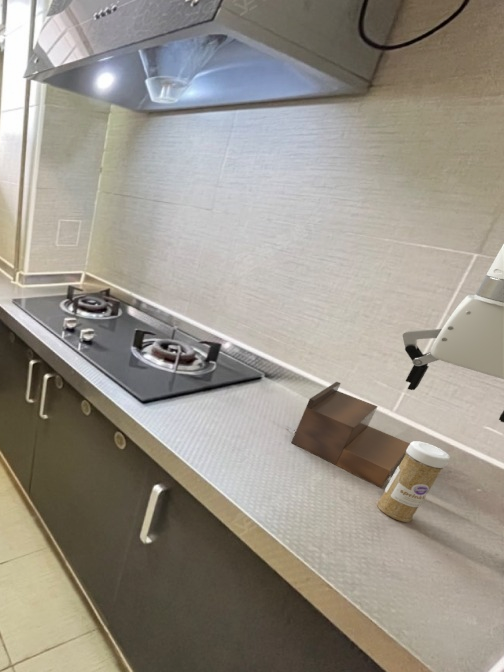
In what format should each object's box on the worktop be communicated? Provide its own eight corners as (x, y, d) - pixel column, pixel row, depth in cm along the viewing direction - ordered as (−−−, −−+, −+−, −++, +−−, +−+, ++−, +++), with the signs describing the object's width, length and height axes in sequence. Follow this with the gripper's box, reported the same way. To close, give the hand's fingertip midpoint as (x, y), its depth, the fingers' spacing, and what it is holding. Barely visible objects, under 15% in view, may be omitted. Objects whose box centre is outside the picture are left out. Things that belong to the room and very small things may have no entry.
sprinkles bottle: (393, 522, 65) (432, 458, 60) (368, 501, 69) (403, 439, 64) (419, 523, 65) (459, 459, 60) (392, 502, 69) (429, 440, 64)
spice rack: (402, 459, 82) (427, 415, 78) (380, 487, 73) (407, 439, 69) (318, 421, 93) (336, 381, 89) (290, 442, 84) (309, 398, 80)
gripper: (629, 312, 49) (547, 426, 55) (436, 277, 61) (387, 373, 68) (634, 320, 44) (544, 442, 51) (426, 280, 57) (375, 382, 64)
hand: (454, 402), depth 59 cm, fingers open, 9 cm apart
